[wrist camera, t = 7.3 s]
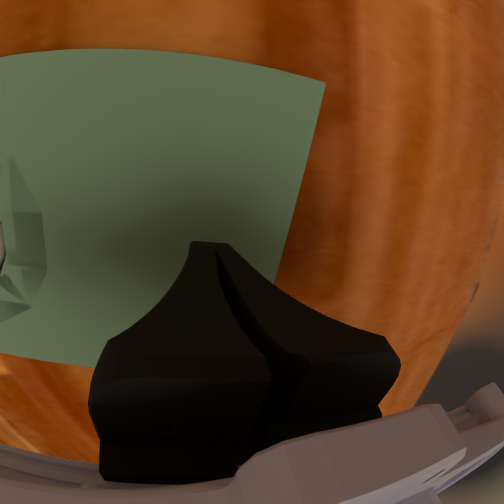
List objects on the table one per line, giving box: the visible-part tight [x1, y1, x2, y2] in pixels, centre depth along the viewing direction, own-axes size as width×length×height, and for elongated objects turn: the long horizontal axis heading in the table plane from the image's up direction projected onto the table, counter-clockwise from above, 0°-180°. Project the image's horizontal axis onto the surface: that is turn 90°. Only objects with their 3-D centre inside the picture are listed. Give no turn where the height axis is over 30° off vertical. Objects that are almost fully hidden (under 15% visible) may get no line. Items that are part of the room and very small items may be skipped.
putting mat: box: [0, 49, 326, 367], centre depth 11 cm, size 20×14×2 cm
